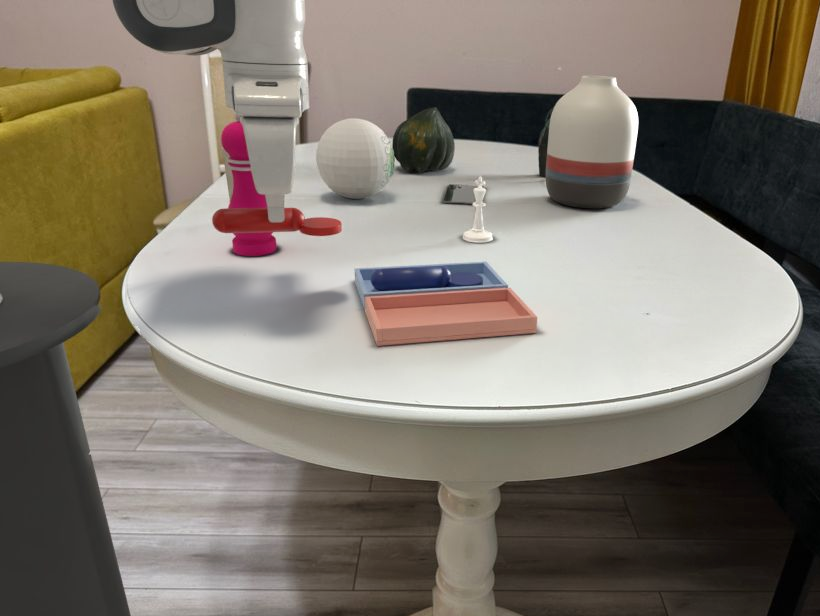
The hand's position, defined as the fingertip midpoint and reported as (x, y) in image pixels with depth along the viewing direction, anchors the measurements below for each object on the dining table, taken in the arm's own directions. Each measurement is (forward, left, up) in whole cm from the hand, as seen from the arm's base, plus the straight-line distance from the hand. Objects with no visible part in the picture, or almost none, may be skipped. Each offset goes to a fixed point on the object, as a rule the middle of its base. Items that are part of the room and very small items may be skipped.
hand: (276, 216), depth 79 cm
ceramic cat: (+69, +68, -11) cm, 98 cm away
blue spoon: (+19, 0, -10) cm, 21 cm away
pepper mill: (-4, +21, -11) cm, 24 cm away
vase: (+60, +44, -11) cm, 75 cm away
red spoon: (+1, 0, -2) cm, 2 cm away
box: (-5, +36, -11) cm, 38 cm away
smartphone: (+37, +53, -10) cm, 66 cm away
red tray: (+18, -11, -10) cm, 24 cm away
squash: (+34, +80, -11) cm, 88 cm away
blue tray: (+18, -1, -10) cm, 21 cm away
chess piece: (+31, +22, -11) cm, 40 cm away
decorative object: (+15, +53, -11) cm, 56 cm away
